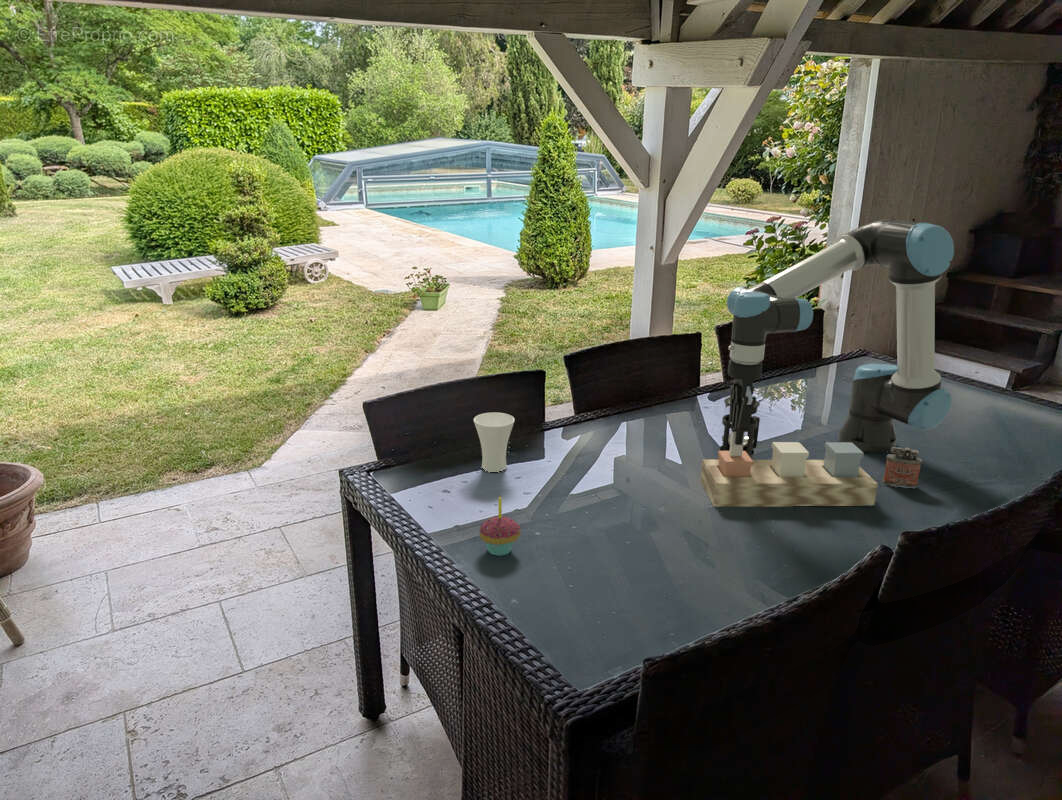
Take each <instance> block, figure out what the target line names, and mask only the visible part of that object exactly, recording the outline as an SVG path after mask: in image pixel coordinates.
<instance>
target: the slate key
mask: <svg viewBox="0 0 1062 800" xmlns="http://www.w3.org/2000/svg"><path fill="white" fill-rule="evenodd" d="M824 448H825V453H824V459H823V460H824V465H823V467H824V468H825V469H826V470H827V471H828V473H829V474H830V475H831V476H832V477H858V473H859V467H861V461H862V460H861V459H862V458H864V453H865V452H863V451H861V450H860V449H859V448H858V447H856V446H855V445H854V444H853V443H852V442H839V441H838V442H834V441H833V442H829V441H828V442H827V441H825V443H824Z"/></svg>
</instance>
